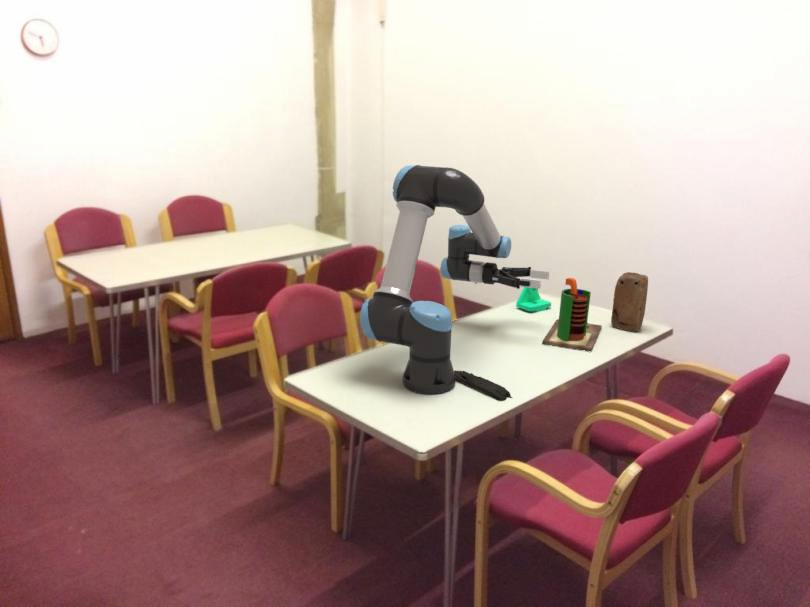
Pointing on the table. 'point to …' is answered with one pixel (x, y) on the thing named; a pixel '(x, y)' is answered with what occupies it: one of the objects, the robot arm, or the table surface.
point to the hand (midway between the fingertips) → (544, 279)
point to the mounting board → (584, 344)
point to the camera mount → (531, 300)
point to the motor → (573, 312)
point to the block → (629, 301)
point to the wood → (483, 385)
